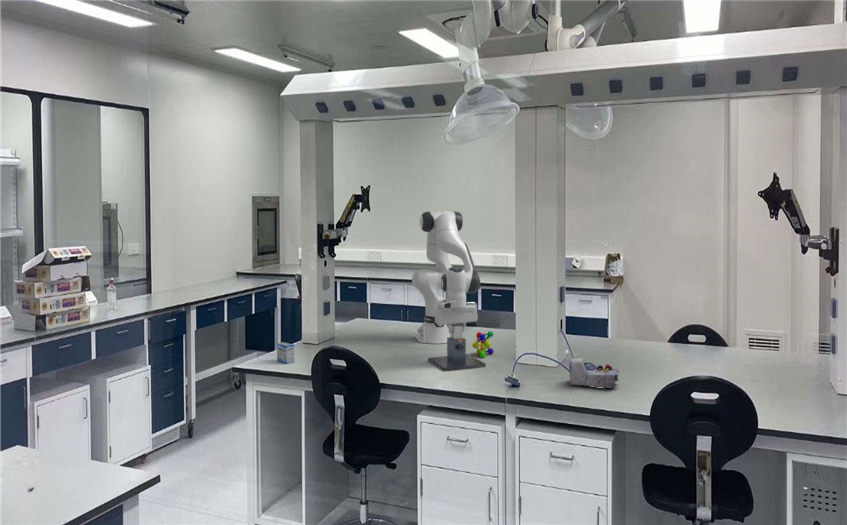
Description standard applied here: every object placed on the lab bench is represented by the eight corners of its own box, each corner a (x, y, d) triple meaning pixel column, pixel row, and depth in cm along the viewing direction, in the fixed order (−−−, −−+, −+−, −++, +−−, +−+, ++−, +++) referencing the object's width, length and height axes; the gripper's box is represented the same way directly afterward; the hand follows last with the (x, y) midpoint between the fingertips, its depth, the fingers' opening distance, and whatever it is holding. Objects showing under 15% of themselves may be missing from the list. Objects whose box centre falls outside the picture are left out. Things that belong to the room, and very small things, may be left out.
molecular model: (484, 358, 314) (484, 334, 313) (471, 356, 318) (471, 333, 317) (495, 354, 323) (495, 331, 323) (482, 352, 327) (483, 329, 327)
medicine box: (277, 361, 311) (276, 343, 310) (284, 359, 314) (284, 341, 313) (286, 364, 305) (286, 345, 304) (294, 362, 308) (294, 344, 308)
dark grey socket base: (428, 361, 310) (427, 335, 309) (466, 357, 318) (466, 332, 316) (445, 371, 292) (445, 344, 290) (485, 366, 299) (485, 340, 298)
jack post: (450, 359, 306) (450, 323, 304) (458, 358, 307) (458, 323, 305) (454, 361, 302) (454, 325, 300) (462, 360, 303) (462, 324, 302)
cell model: (568, 354, 277) (618, 357, 273) (567, 379, 278) (617, 382, 274) (569, 361, 264) (621, 365, 261) (568, 388, 265) (620, 391, 262)
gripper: (473, 300, 309) (473, 329, 310) (433, 303, 301) (433, 333, 302) (480, 302, 303) (479, 332, 304) (438, 305, 295) (438, 335, 297)
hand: (456, 332), depth 303 cm, fingers closed on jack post, 4 cm apart
